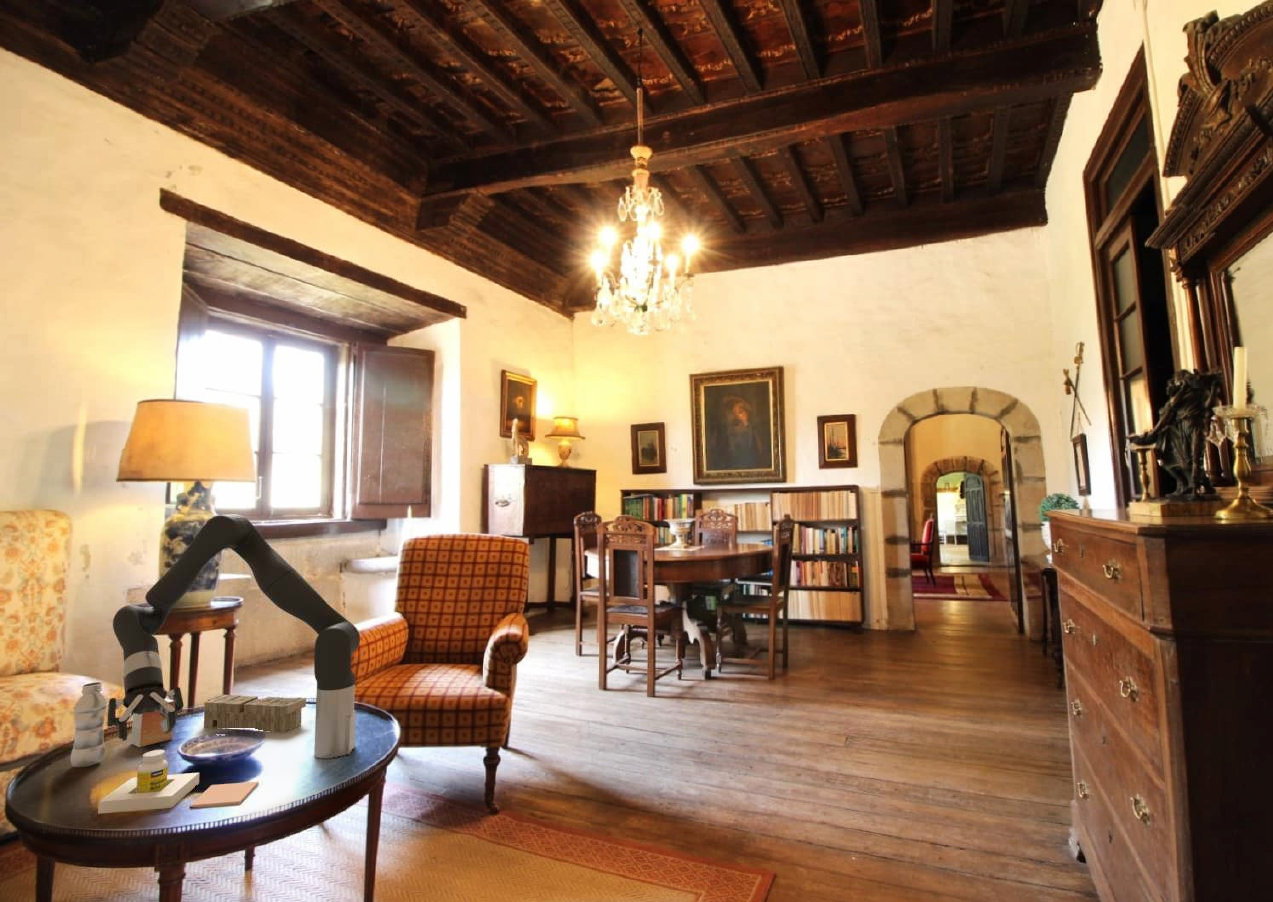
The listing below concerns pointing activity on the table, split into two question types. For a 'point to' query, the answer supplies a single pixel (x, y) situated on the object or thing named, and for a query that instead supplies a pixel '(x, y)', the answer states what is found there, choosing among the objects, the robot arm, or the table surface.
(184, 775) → the block
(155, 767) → the supplement bottle
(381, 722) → the table surface
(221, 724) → the block tower
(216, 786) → the terracotta tile
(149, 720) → the small box
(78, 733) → the plastic bottle
